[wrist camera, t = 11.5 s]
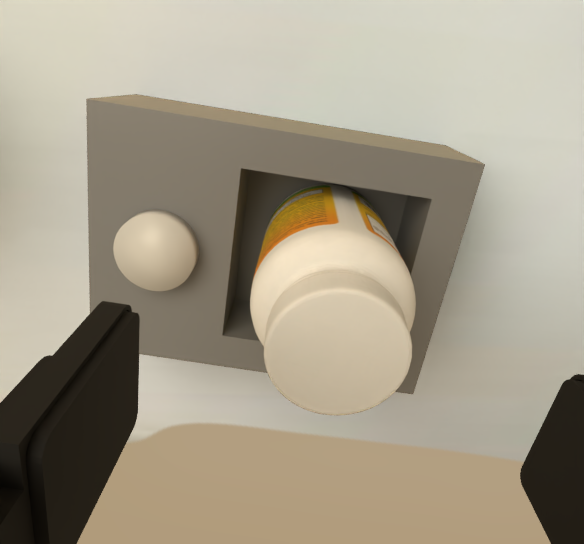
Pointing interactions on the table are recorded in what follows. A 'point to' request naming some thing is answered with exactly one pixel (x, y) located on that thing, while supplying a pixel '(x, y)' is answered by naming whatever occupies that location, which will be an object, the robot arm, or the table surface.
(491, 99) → the table surface
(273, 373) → the supplement bottle
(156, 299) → the grey hollow block
